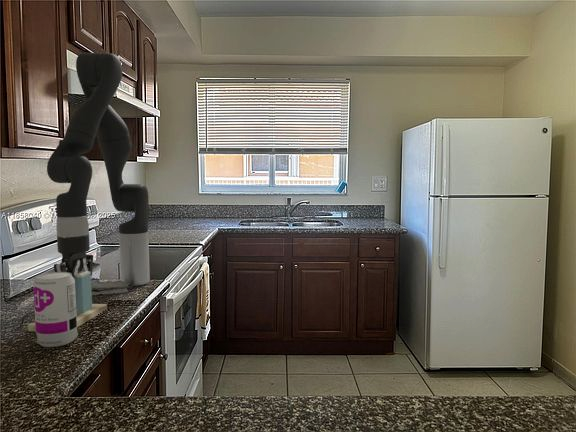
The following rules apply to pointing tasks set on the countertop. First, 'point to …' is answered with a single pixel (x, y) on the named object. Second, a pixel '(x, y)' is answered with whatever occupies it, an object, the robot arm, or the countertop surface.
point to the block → (83, 291)
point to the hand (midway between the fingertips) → (76, 297)
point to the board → (81, 315)
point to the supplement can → (55, 309)
